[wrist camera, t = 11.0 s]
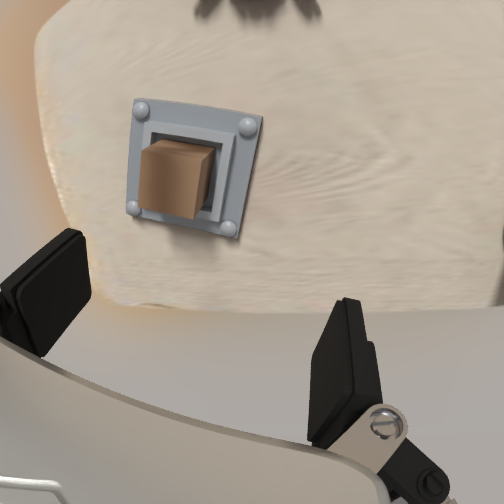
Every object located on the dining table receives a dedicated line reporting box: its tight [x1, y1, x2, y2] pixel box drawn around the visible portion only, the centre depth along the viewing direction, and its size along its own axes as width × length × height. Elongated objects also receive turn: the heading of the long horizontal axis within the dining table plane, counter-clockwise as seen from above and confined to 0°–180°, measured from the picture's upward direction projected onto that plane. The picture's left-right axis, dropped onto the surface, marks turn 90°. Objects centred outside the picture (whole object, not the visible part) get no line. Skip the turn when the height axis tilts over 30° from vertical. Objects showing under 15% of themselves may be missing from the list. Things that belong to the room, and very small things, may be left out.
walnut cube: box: [138, 139, 216, 219], centre depth 27 cm, size 5×5×5 cm
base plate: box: [126, 98, 263, 238], centre depth 29 cm, size 12×12×2 cm
